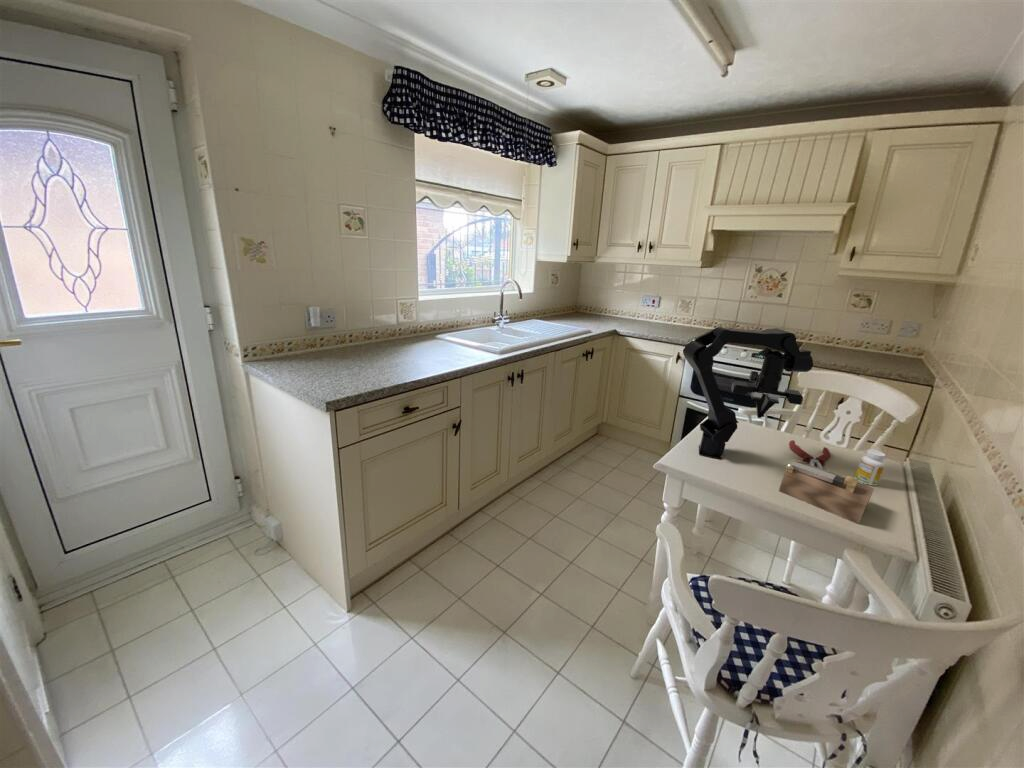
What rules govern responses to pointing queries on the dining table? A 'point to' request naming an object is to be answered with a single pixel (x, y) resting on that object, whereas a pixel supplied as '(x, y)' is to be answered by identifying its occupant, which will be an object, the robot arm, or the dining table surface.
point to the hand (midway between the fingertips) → (758, 417)
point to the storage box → (828, 493)
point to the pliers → (808, 458)
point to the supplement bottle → (870, 467)
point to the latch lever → (817, 473)
